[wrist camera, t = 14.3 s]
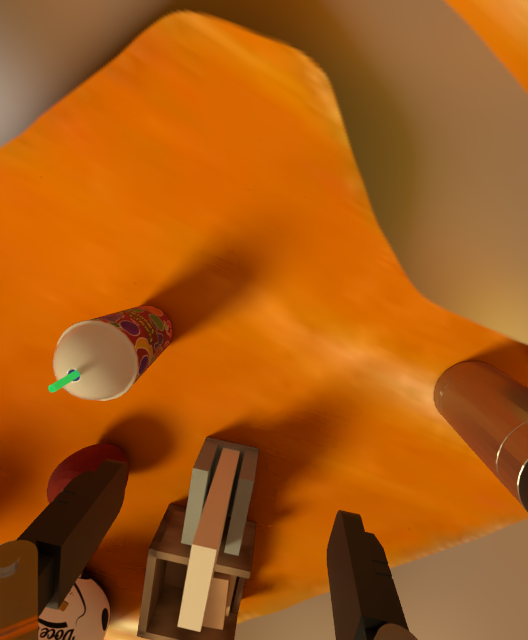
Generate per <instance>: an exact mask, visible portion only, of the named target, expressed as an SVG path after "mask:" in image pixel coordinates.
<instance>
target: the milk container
mask: <svg viewBox="0 0 528 640" xmlns="http://www.w3.org/2000/svg"><path fill="white" fill-rule="evenodd" d="M109 620H110V603H109V600H108V598H107V595H106V593H105V592H104V590H103V588H102V587H101V586H100V585H99V584H98V583H97V582H96V580H95V579H94V578H93V577H92V576H90V575H88V574H86V573H85V572H83V571H82V572H81V574H80V576H79V577H78V579H77V580H76V582H75V584H74V585H73V587H72V588H71V590H70V591H69V593H68V595H67V596H66V598H65V599H64V601H63V603H62V604H61V606H60V607H59V609H58V610H56V609H51V608H47V607H45V609H44V610H43V612H42V613H41V615H40V616H39V618H38V640H103V639H104V637H105V634H106V631H107V627H108V624H109Z"/></svg>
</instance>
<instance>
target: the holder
mask: <svg viewBox="0 0 528 640" xmlns="http://www.w3.org/2000/svg"><path fill="white" fill-rule="evenodd" d="M223 448H227V449H232V450H236V451H240V454H239V459H238V464H237V469H236V474H235V479H234V484H233V488H232V493H231V498H230V503H229V508H228V513H227V516H228V517H231V520H230V525H229V530H228V535H227V540H226V545H225V550H224V553H228V554H232V555H237V556H239V551H240V546H241V542H242V537H243V532H244V528H245V523H246V518H247V514H248V509H249V504H250V500H251V495H252V490H253V486H254V481H255V474H256V467H257V460H258V453H259V448H255V447H250V446H245V445H241V444H236V443H231V442H227V441H222V440H217V439H213V438H208V437H206V439H205V441H204V444H203V446H202V448H201V451H200V453H199V455H198V458H197V460H196V462H195V465H194V467H193V472H192V478H191V484H190V490H189V497H188V503H187V509H186V515H185V521H184V528H183V534H182V540H181V543H183V544H188V545H192V543H193V540H194V537H195V534H196V530H197V527H198V524H199V521H200V518H201V515H202V512H203V509H204V506H205V503H206V499H207V496H208V493H209V490H210V487H211V484H212V481H213V478H214V475H215V472H216V468H217V465H218V462H219V459H220V456H221V453H222V450H223Z"/></svg>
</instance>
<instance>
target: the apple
mask: <svg viewBox="0 0 528 640" xmlns="http://www.w3.org/2000/svg"><path fill="white" fill-rule="evenodd" d="M106 459H111V460H116V461H120V462H125V463H127V476H126V485H127V481H128V475H129V465H128V461H127V457H126V455H125V453H124V452H123V451H122V450H121V449H120V448H119V447H117V446H115V445H112V444H95V445H92V446H88V447H86V448H83V449H81V450H79V451H77V452H75V453H73V454H72V455H70V456H69V457H68V458H66V459H65V460H64V461H63V462H61V463H60V464H59V465H58V466H57V468H56V469H55V470H54V472H53V473H52V475H51V477H50V479H49V483H48V488H47V497H48V501H49V503H51V502H53V500H54V499H55V497H56V496H57V495H58V494H59V493H60V492H62V490H63V489H64V488H65V487H66V485H67V484H68V483H69V482H70V481H71V480H72V479H73V478H75V477H76V476H78V475H80V474H82V473H83V472H85V471H87V470H89V471H93V472H95V471H96V470H97V468H98V467H99V466H100V465H101V464H102V463H103V461H104V460H106ZM126 485H125V488H126Z"/></svg>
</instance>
